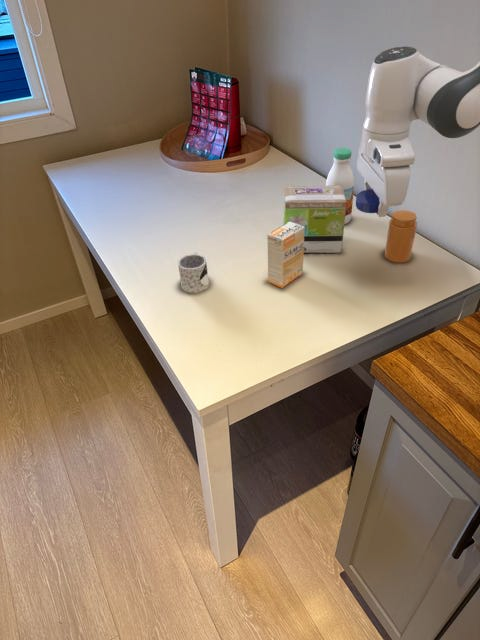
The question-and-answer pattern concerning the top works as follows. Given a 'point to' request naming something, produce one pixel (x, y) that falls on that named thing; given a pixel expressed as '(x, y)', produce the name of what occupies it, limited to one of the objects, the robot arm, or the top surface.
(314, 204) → the tea box
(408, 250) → the jar
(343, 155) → the milk bottle
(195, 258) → the mug
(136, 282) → the top surface
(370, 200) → the lid
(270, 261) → the supplement box
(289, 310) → the top surface
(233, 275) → the top surface
